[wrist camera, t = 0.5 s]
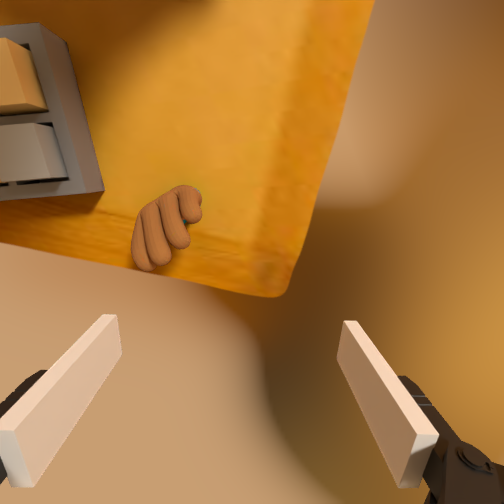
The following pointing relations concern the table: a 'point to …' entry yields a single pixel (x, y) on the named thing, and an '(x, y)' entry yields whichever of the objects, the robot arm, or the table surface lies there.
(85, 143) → the button board
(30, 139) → the grey button
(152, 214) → the toy
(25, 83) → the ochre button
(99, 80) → the table surface
